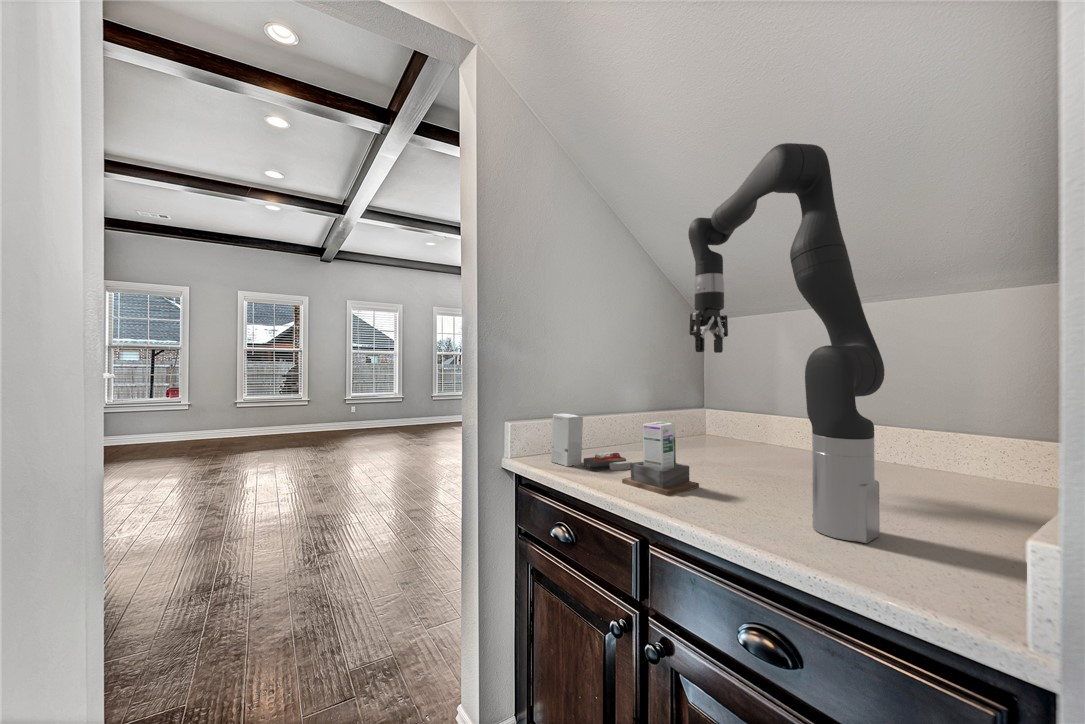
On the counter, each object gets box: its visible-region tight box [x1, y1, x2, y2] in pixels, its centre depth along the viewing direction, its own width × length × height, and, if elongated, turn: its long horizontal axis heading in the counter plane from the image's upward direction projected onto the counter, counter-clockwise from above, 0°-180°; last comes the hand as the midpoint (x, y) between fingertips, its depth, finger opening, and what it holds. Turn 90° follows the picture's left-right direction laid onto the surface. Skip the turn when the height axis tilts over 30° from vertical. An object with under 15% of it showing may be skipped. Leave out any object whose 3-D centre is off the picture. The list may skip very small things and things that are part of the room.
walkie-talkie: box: [583, 451, 640, 472], centre depth 132 cm, size 9×4×20 cm
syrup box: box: [642, 421, 677, 470], centre depth 112 cm, size 6×6×14 cm
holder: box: [621, 461, 700, 496], centre depth 112 cm, size 14×12×5 cm
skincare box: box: [550, 413, 584, 467], centre depth 137 cm, size 8×6×15 cm
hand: (709, 352), depth 121 cm, fingers open, 8 cm apart
